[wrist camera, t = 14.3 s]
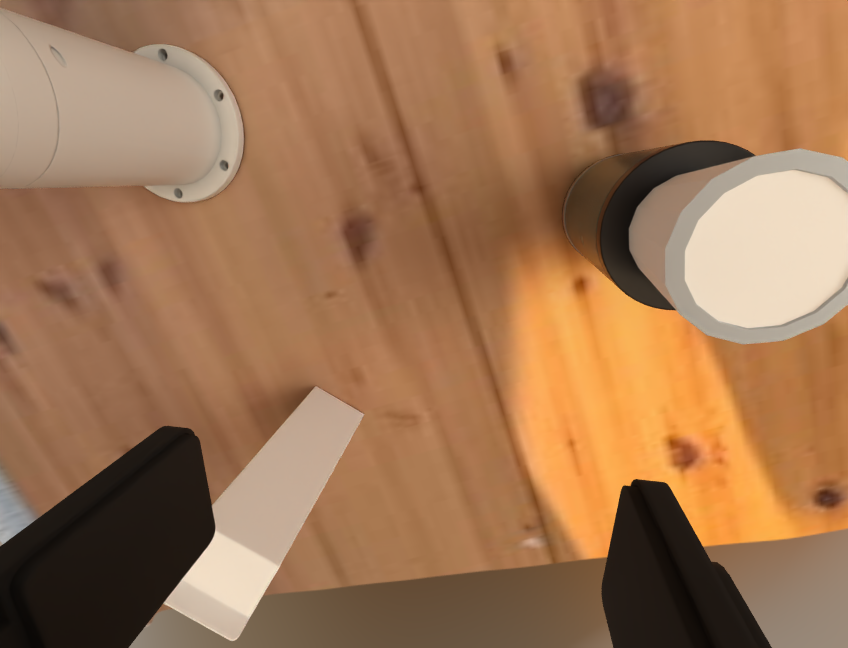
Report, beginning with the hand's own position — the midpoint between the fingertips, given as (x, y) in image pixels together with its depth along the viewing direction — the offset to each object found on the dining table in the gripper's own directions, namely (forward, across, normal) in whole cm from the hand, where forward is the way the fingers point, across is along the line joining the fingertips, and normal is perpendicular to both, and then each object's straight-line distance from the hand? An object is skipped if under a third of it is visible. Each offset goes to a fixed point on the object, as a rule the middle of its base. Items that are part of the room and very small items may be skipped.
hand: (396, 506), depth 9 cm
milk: (+31, +14, +18) cm, 38 cm away
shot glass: (+16, -11, -4) cm, 20 cm away
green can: (+30, -11, -4) cm, 33 cm away
